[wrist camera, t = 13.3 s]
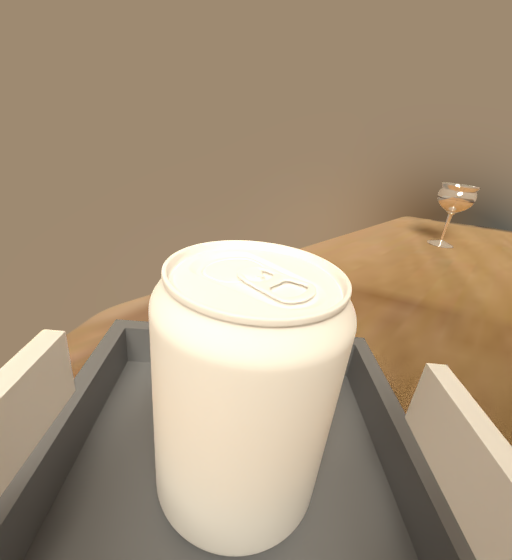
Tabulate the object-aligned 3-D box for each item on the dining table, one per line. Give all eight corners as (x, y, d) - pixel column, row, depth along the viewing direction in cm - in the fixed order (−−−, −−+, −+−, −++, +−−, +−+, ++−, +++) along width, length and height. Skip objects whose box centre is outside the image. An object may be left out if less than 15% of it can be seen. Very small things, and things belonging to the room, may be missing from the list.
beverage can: (233, 394, 23) (249, 227, 18) (337, 473, 18) (398, 278, 13) (124, 475, 17) (101, 259, 12) (238, 619, 12) (278, 370, 7)
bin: (352, 377, 27) (363, 337, 25) (532, 813, 10) (604, 779, 8) (120, 362, 26) (116, 319, 24) (-136, 821, 9) (-210, 783, 7)
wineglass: (421, 244, 67) (441, 184, 62) (423, 236, 72) (441, 181, 67) (458, 252, 64) (482, 190, 59) (457, 243, 70) (478, 186, 65)
